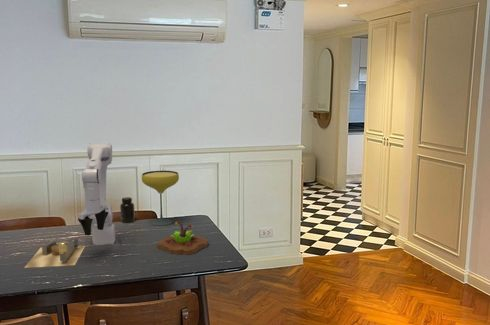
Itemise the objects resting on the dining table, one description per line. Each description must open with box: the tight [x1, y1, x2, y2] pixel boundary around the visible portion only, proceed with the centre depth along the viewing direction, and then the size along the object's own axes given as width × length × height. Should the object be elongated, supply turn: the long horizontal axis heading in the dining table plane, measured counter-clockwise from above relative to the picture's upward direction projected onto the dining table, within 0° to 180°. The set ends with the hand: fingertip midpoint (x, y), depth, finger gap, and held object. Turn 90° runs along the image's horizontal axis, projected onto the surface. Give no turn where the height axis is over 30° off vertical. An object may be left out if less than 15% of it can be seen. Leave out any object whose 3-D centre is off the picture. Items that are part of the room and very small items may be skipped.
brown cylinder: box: [52, 244, 60, 256], centre depth 189 cm, size 4×4×3 cm
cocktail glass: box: [141, 170, 180, 227], centre depth 235 cm, size 18×18×25 cm
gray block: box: [41, 240, 57, 256], centre depth 190 cm, size 2×6×4 cm, turn 164°
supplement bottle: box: [119, 196, 136, 224], centre depth 238 cm, size 7×7×12 cm
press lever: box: [57, 237, 79, 261], centre depth 187 cm, size 19×4×7 cm, turn 7°
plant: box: [156, 220, 209, 256], centre depth 201 cm, size 20×20×11 cm
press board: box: [24, 245, 86, 269], centre depth 187 cm, size 18×22×1 cm
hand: (94, 232), depth 187 cm, fingers open, 7 cm apart
